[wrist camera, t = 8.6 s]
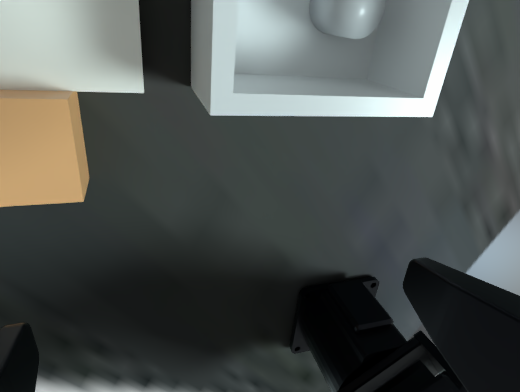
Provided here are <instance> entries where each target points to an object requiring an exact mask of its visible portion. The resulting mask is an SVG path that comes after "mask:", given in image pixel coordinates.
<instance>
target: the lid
mask: <svg viewBox="0 0 520 392" xmlns="http://www.w3.org/2000/svg"><path fill="white" fill-rule="evenodd" d="M77 91H80V92H122V93H144V84H143V67H142V50H141V34H140V17H139V0H0V207H5V206H22V205H38V204H54V203H70V202H84V198H85V194H86V190H87V186H88V182H89V172H88V165H87V158H86V151H85V144H84V137H83V130H82V123H81V116H80V109H79V102H78V95H77Z"/></svg>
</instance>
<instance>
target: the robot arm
mask: <svg viewBox="0 0 520 392" xmlns="http://www.w3.org/2000/svg"><path fill="white" fill-rule="evenodd" d="M378 286H379V281H378V280H377V279H376V278H375V277H367V278H361V279H355V280H348V281H342V282H335V283H329V284H322V285H316V286H310V287H305V288H303V289H302V290H301V291H300V293H299V299H298V304H297V309H296V315H295V320H294V326H293V331H292V337H291V342H290V349H291V351H292V353H294V354H295V353H301V352H305V351H311V353H312V355H313V357H314V359H315V360H316V362H317V364H318V366H319V368H320V370H321V372H322V374H323V376H324V378H325V380H326V382H327V384H328V386H329V388H330V390H331V392H520V296H519V295H516V294H514V293H511V292H509V291H506V290H504V289H501V288H499V287H497V286H494V285H492V284H489V283H487V282H485V281H482V280H480V279H477V278H475V277H472V276H470V275H468V274H465V273H463V272H460V271H458V270H455V269H453V268H451V267H448V266H446V265H443V264H441V263H438V262H436V261H434V260H431V259H429V258H418V259H413V260H411V261H410V262H409V265H408V268H407V271H406V275H405V278H404V281H403V289H404V292H405V294H406V296H407V297H408V299H409V301H410V303H411V304H412V306H413V308H414V310H415V311H416V313H417V315H418V317H419V318H420V320H421V322H422V324H423V325H424V327H425V328H426V330H427V332H428V334H429V335H430V337H431V339H432V341H433V342H434V344H435V345H436V346H435V345H434V344H433V343H432V342H431V341H430V340H429V339H428V338H427V337H426V336H425V334H424V333H423V332H422V331H419V332H417V333H416V334H414V337H413V338H412V339H410V340H409V341H406V339H405V338H404V337H403V336H402V334H401V333H400V332H399V331H398V329H397V328H396V327H395V326H394V324H393V319H392V318H391V317H390V316H389V314H388V313H387V312H386V311H385V309H384V308H383V307H382V306H381V305H380V303H379V302H378V301H377V300H376V298H375V295H376V292H377V289H378ZM38 365H39V352H38V348H37V345H36V342H35V339H34V335H33V332H32V329H31V327H30V325H29V324H28V323H25V322H23V323H17V324H11V325H6V326H3V327H2V328H1V329H0V392H35V387H36V379H37V372H38ZM437 373H439V375H437V376H436V377H435V375H436V374H437Z"/></svg>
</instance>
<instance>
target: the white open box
mask: <svg viewBox="0 0 520 392" xmlns="http://www.w3.org/2000/svg"><path fill="white" fill-rule="evenodd" d="M468 2H469V0H191V88H192V89H193V91H194V92H195V94H196V95H197V97H198V98H199V100H200V101H201V102H202V104H203V105H204V107H205V108H206V110H207V111H208V113H209V114H210V115H229V116H377V117H432V116H433V113H434V110H435V107H436V104H437V101H438V97H439V94H440V91H441V88H442V85H443V81H444V78H445V75H446V72H447V69H448V65H449V62H450V59H451V56H452V53H453V50H454V46H455V43H456V40H457V37H458V34H459V30H460V27H461V24H462V21H463V18H464V14H465V11H466V8H467V5H468Z"/></svg>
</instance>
